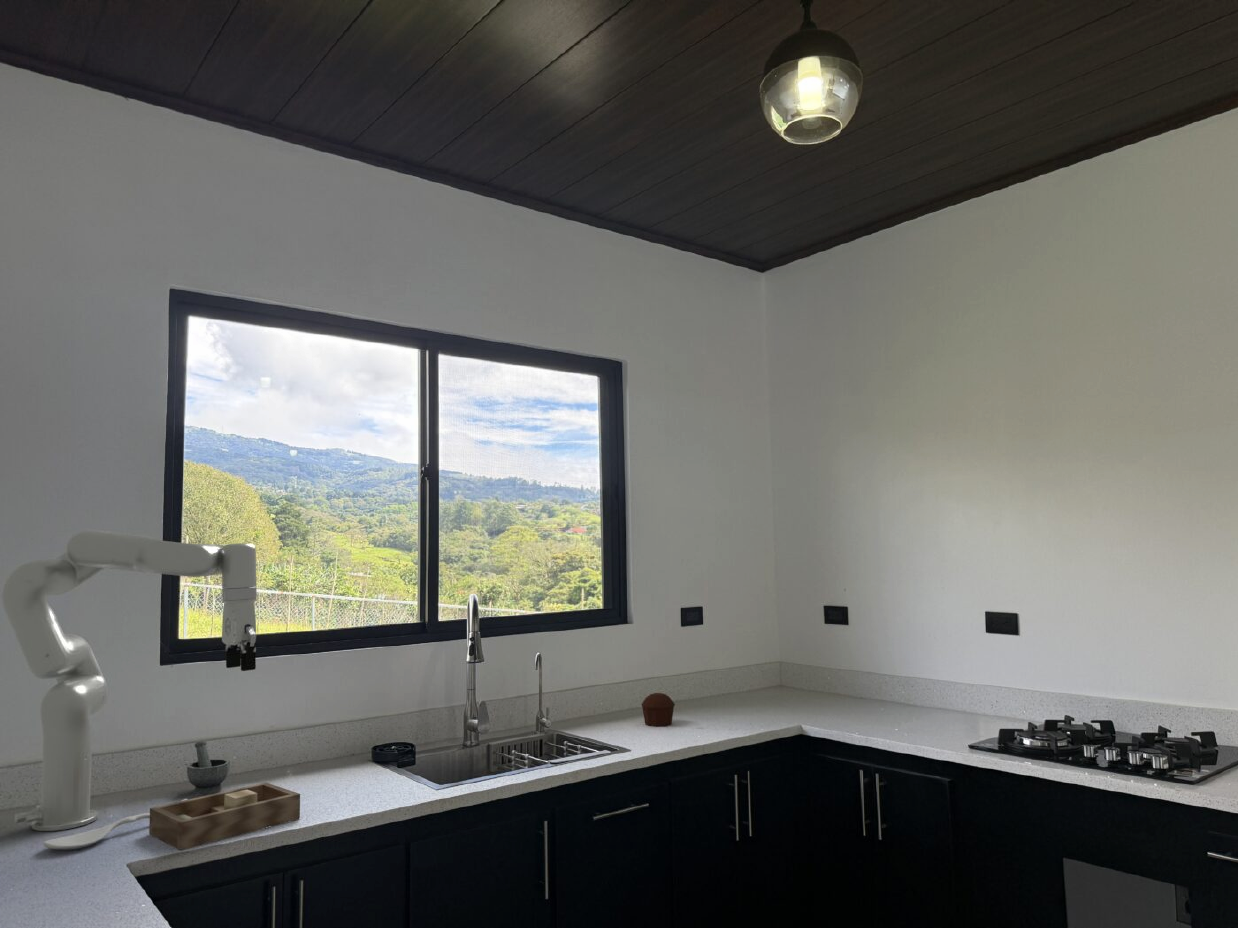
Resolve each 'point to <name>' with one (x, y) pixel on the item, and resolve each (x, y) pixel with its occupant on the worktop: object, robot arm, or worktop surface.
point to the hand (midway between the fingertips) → (240, 668)
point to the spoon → (89, 835)
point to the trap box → (222, 816)
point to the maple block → (239, 799)
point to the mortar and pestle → (207, 771)
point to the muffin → (658, 710)
